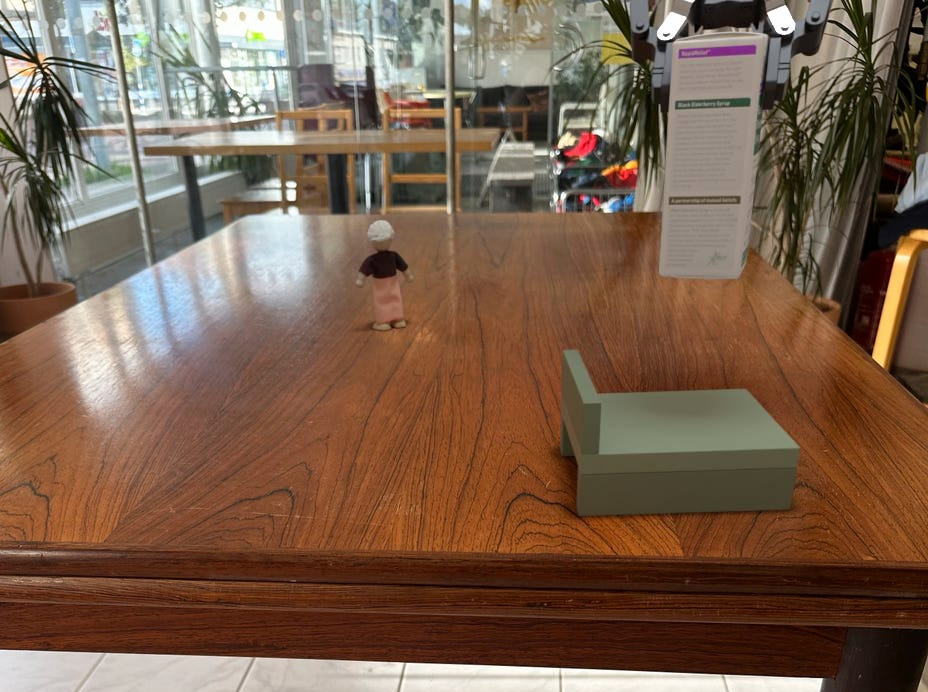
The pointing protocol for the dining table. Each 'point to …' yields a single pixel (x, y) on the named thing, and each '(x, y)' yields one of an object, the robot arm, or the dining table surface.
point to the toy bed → (672, 449)
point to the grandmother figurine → (384, 277)
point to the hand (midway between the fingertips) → (717, 100)
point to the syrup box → (712, 153)
